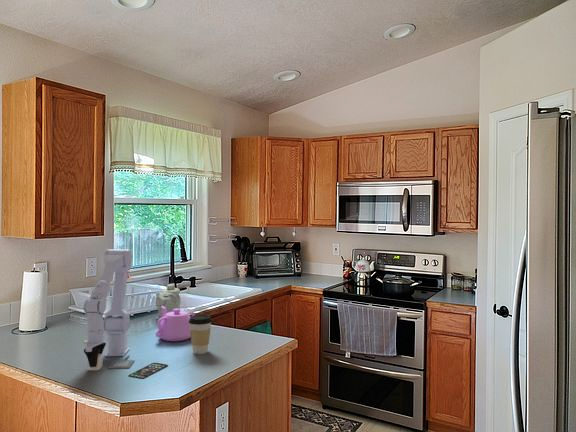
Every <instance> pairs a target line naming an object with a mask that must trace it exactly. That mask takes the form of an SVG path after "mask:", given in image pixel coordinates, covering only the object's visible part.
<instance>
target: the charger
mask: <svg viewBox="0 0 576 432" xmlns="http://www.w3.org/2000/svg"><path fill="white" fill-rule="evenodd" d="M102 367H103V353H102V354H98V359H97V365H96V367H90V365H89V361H88V360H87V371H99V370H101V368H102Z"/></svg>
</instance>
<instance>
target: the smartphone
mask: <svg viewBox="0 0 576 432" xmlns="http://www.w3.org/2000/svg"><path fill="white" fill-rule="evenodd" d="M168 366H169V364H167V363H166V364H165V363H159V362H152V363H150V364H148V365H146V366H144V367H142V368H140V369H137V370H136V371H134V372H132V373H130V374H128V375H127V376H128V377H129V378H134V379H135V378H136V379H139V380H140V379H141V380H144V379H147V378H148V377H151V376H152V375H154V374H156V373H158V372H160V371H162V370H164V369H166V368H167V367H168Z"/></svg>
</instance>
